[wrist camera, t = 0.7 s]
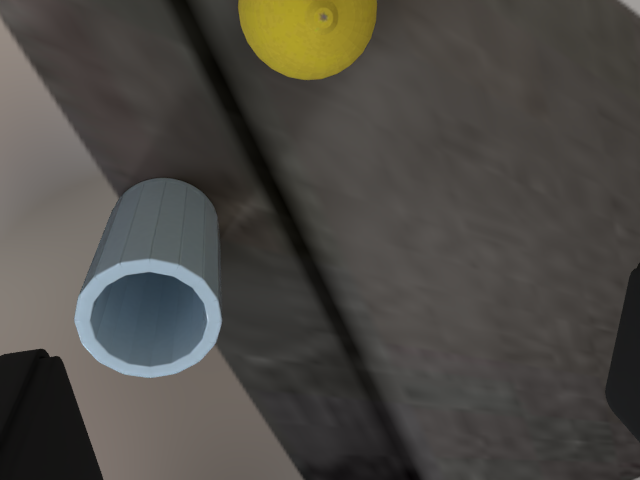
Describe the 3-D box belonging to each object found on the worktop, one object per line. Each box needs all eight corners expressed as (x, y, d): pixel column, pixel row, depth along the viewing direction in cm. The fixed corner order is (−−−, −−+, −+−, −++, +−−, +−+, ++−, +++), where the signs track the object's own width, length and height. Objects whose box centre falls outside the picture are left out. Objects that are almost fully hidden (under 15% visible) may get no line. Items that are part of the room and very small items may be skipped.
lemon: (373, -23, 27) (431, -15, 20) (315, 82, 29) (348, 124, 22) (270, -93, 25) (292, -111, 18) (214, 25, 27) (214, 50, 20)
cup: (99, 184, 29) (57, 271, 21) (210, 171, 30) (209, 250, 22) (124, 278, 32) (95, 387, 24) (225, 264, 32) (230, 365, 24)
